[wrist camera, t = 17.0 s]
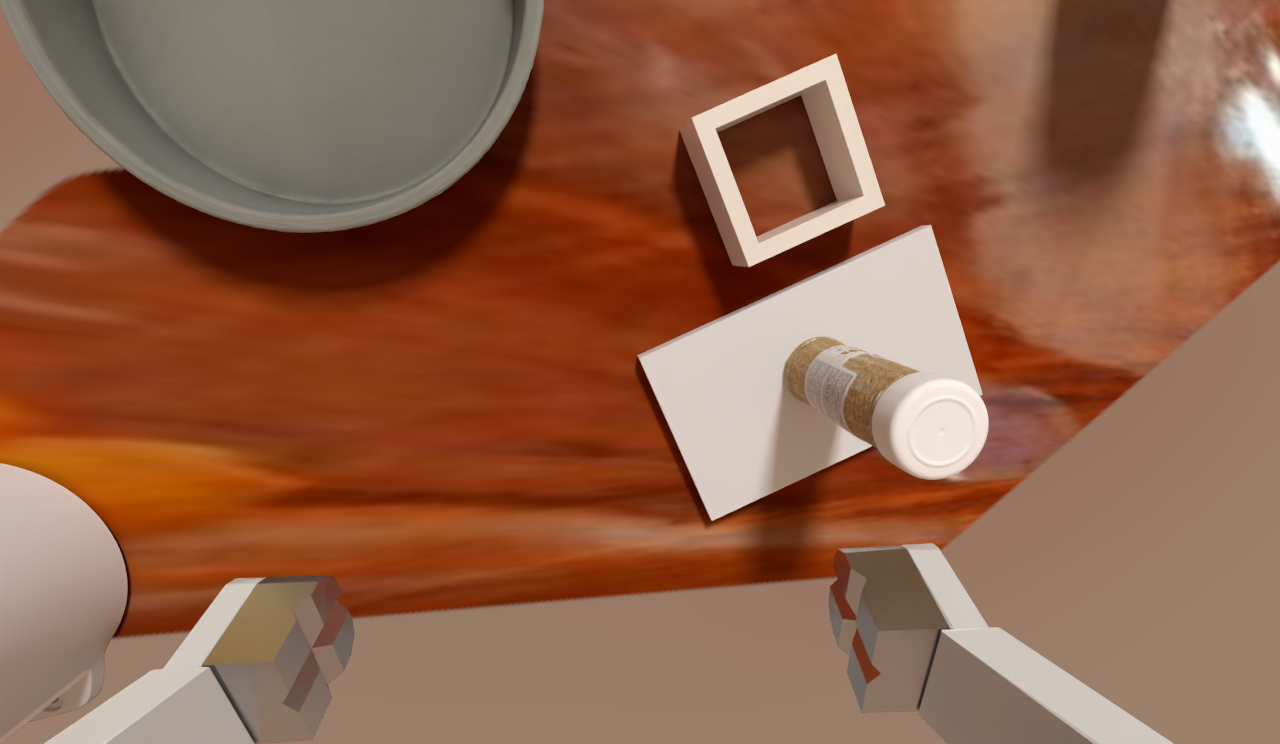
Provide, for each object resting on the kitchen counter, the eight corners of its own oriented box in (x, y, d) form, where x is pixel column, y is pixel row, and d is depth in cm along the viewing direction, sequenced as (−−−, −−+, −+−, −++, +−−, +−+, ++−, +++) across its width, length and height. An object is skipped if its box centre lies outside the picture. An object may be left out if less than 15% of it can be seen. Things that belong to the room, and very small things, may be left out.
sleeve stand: (732, 265, 38) (748, 267, 35) (679, 130, 36) (691, 117, 33) (856, 209, 38) (885, 205, 35) (810, 71, 36) (836, 53, 33)
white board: (708, 514, 41) (711, 521, 40) (637, 355, 38) (639, 358, 37) (972, 390, 42) (982, 394, 41) (921, 225, 39) (930, 225, 38)
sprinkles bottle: (859, 343, 39) (1008, 392, 26) (838, 411, 40) (972, 491, 27) (793, 327, 38) (912, 369, 25) (773, 397, 39) (878, 472, 26)
